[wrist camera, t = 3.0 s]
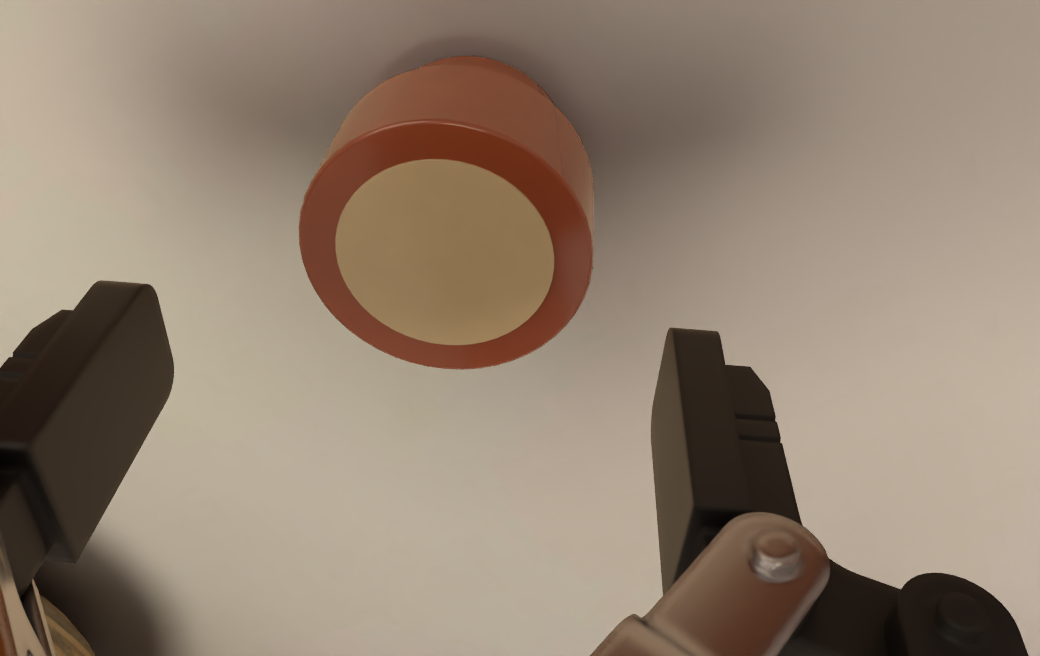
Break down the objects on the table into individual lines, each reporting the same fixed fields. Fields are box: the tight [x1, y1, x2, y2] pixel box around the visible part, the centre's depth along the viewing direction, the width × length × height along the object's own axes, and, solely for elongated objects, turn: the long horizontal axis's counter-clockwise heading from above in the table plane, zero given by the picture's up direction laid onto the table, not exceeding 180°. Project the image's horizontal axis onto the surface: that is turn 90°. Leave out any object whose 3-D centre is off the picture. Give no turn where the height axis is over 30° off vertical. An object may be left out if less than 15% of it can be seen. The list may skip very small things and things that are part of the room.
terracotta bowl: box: [299, 56, 594, 369], centre depth 18 cm, size 5×5×4 cm
